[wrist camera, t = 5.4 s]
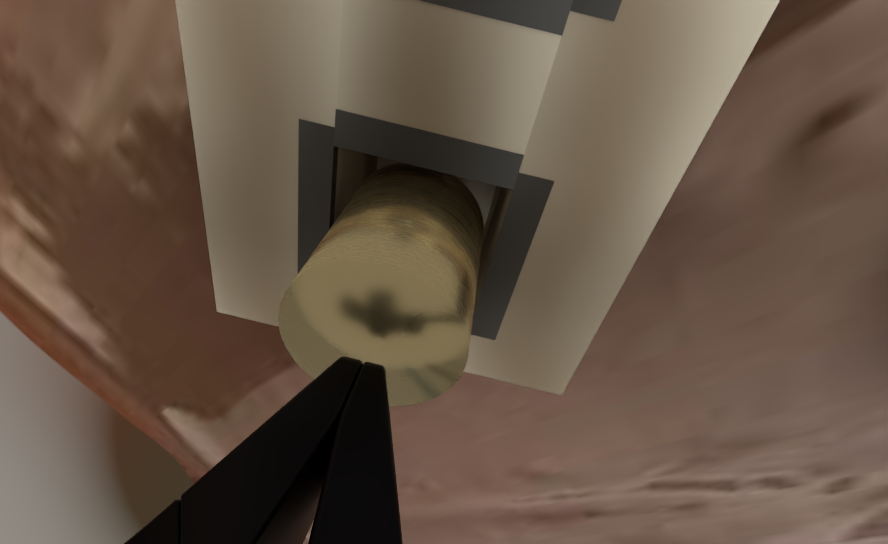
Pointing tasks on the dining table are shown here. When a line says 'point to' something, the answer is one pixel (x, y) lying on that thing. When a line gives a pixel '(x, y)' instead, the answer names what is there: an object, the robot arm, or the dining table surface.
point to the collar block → (459, 141)
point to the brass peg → (392, 284)
